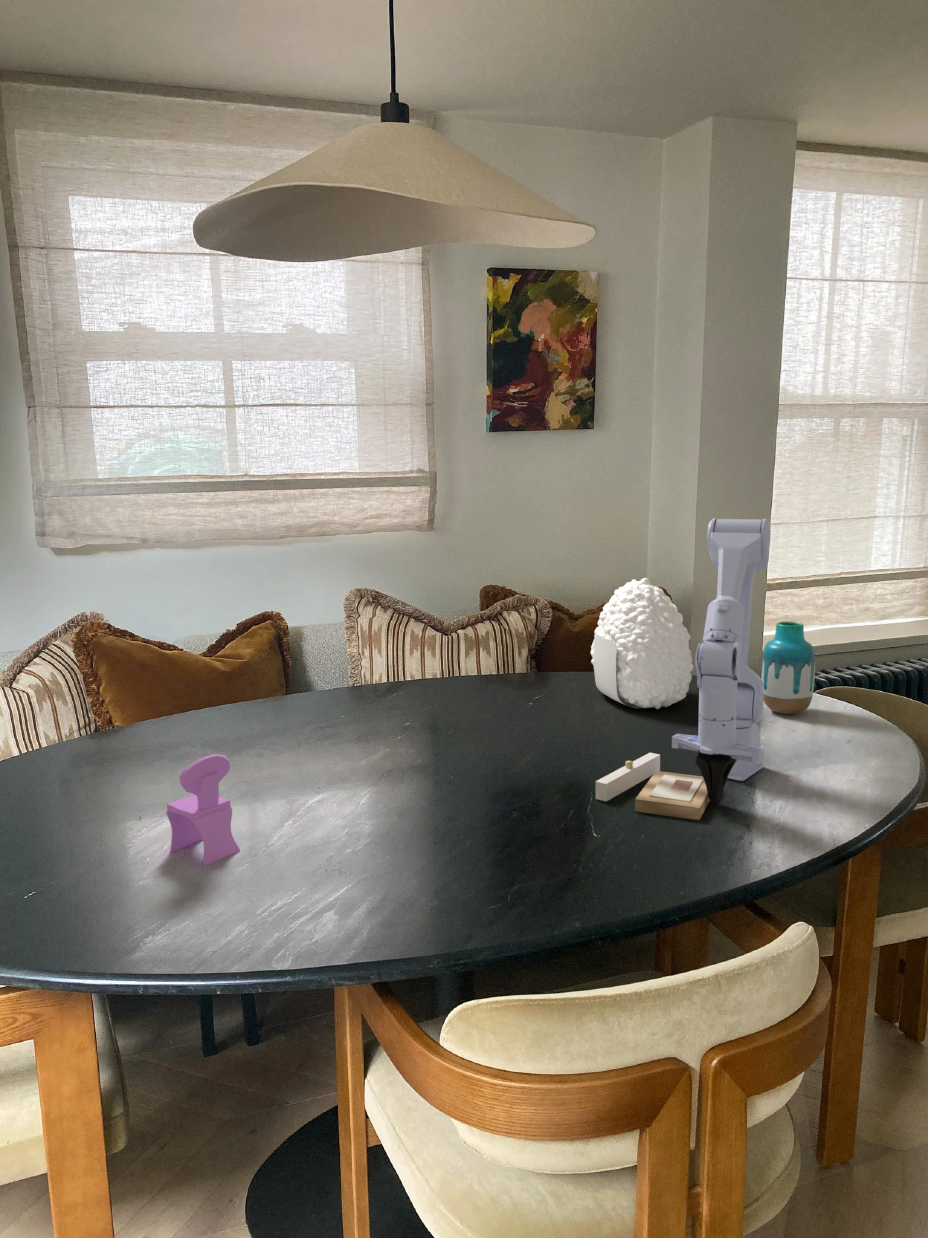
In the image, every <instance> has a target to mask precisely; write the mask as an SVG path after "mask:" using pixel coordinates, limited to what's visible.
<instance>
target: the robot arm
mask: <svg viewBox="0 0 928 1238" xmlns="http://www.w3.org/2000/svg"><path fill="white" fill-rule="evenodd" d="M770 545H771V523H770V521H769V520H768V519H767V518H762V519H751V518H750V519H747V518H746V519H739V518H729V519H728V518H721V519H720V518H716V517H713V518H712V519H711V520H710V521H709V522H708V526H707V532H706V547H707V551H708V554H709V558H710V561H711V562H712V565H713V567H715V568H717V587H716V588H717V589H716V597H715V599H714V600H713V599H712V601H710V603H708V606H707V612H706V617H705V618H706V619H705V624H704V628H703V630H704V631H703V636H702V643H700V642H699V643H698V645H697V647H696V651H695V671H696V680H697V682H696V685H697V688H699V691H698V727H697V729H698V731H697V732H698V733H697V735H694V734H693V735H692V734H682V733H676V734H673V735H672V737H671V748H672V749H677V750H678V749H684V750H690V751H693V752H698V754H697V756H696V757H695V758H694V762H695V764H696V766H697V767H698V769H699V771H700V774H701V776H702V777H703V778H704V781H705V784H706V788H707V792H708V797H709V799H710V801H713V802H718V801H719V800H720V799H722V798H723V793H724V788H725V786H726V782H727V780H728V779H731V780H734V781H739V782H744V781H745V780H747V779H748V778H750V777H751V776H753V775H755V774H756V773H757V772H759V771H760V770H762V769H763V768H764V767H765V764H764V763H763V762H764V756H765V755H764V754H765V753H764V752H765V751H764V749H761V730H760V727H759V725H758V723H759V722H760V721H761V720H762V718H763V713H764V712H763V711H764V700H763V681H762V679H761V675H759V674H757V672H755V671H754V670H753V669H751V667H750V666H749V665H748V664H749V652H750V651H749V650H750V648H749V647H750V634H751V618H752V605H753V604H752V602H753V588H754V587H753V586H754V582H755V578H756V575H757V573H758V572H760V571H762V570H765V569H767V567H768V563H769V559H770V548H771V547H770ZM738 683H743V684H748V685H738ZM749 685H750V686H749Z"/></svg>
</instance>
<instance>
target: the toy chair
mask: <svg viewBox="0 0 928 1238" xmlns="http://www.w3.org/2000/svg"><path fill="white" fill-rule="evenodd" d="M230 768H231V763H230V760H229V758H228V756H227V757H226V756H225V755H224V754H218V753H217V754H216V753H213V754H210V755H207V756H203V757H200V758H198V759H197V760H195V761H193V762H192V763H190V764H189V765H188V766H186V767H185V768H184V769H183V770H182V771H181V773H180V775H179V783H180V786H181V787H182V788H183V789H184V791H185V792H186V793H189V794H192V795H190V796H188V797H185V798H182V799H178V800H174V801H172V802H168V803H166V812H165V813H166V816H167V818H168V821H169V824H170V829H171V839H170V840H171V841H170V852H175V851H177V850H180V849H183V848H185V847H187V846H190V845H193V844H195V843H198V842H200V841H202V842H203V857H202V866H204V867H205V866H208V865H210V864H212V863H215V862H217V861H220V860H222V859H224V858H227V857H229V856H231V855H233V854H236V853H238V852H240V851H241V849H240V846H238V844H237V843H236V841H235V838H234V837H233V833H232V818H233V817H232V816H233V808H232V806H231V800H230V799H227V798H225V797H220V796H219V791H220V790H219V784H220V782H221V781H222V779H223V778H224V777H225V776H227V775H228V773H229V771H230Z"/></svg>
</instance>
